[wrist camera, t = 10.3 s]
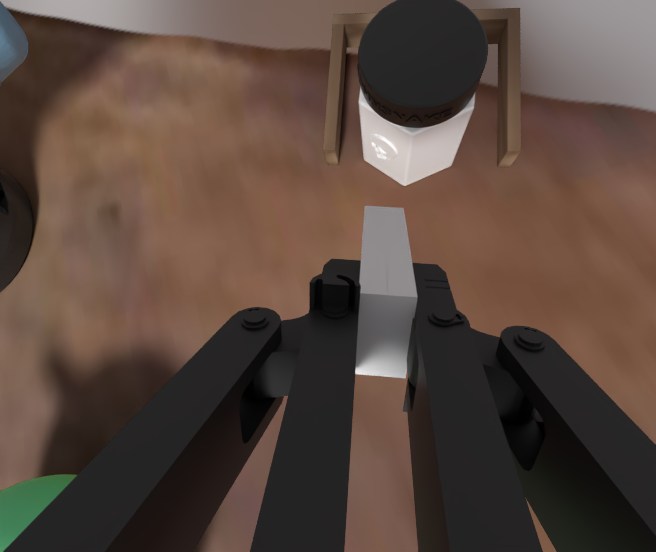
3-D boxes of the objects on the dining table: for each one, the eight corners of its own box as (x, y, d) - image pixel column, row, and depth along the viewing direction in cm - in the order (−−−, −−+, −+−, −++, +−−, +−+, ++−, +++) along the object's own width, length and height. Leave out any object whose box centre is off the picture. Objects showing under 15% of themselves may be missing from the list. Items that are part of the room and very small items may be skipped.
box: (327, 164, 39) (323, 149, 36) (336, 38, 41) (333, 14, 38) (509, 166, 37) (520, 151, 34) (509, 33, 39) (520, 7, 36)
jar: (342, 149, 39) (326, 64, 27) (395, 81, 39) (401, -31, 28) (423, 202, 37) (443, 135, 25) (477, 131, 38) (521, 33, 26)
